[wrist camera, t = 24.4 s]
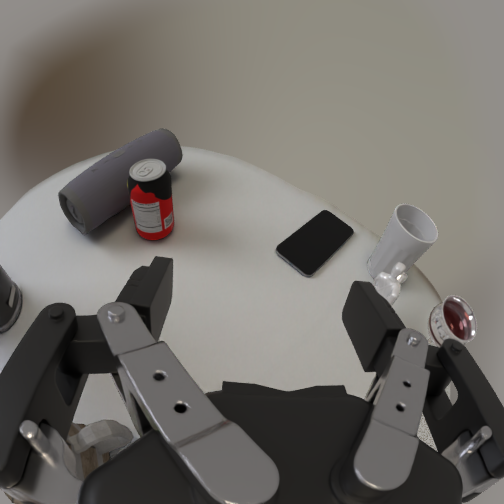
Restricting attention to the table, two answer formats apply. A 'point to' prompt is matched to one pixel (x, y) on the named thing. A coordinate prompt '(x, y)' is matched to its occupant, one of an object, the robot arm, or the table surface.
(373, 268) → the cup
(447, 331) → the wineglass
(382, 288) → the figurine
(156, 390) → the robot arm
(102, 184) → the bluetooth speaker
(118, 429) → the mug
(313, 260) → the smartphone
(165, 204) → the beverage can
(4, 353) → the table surface
